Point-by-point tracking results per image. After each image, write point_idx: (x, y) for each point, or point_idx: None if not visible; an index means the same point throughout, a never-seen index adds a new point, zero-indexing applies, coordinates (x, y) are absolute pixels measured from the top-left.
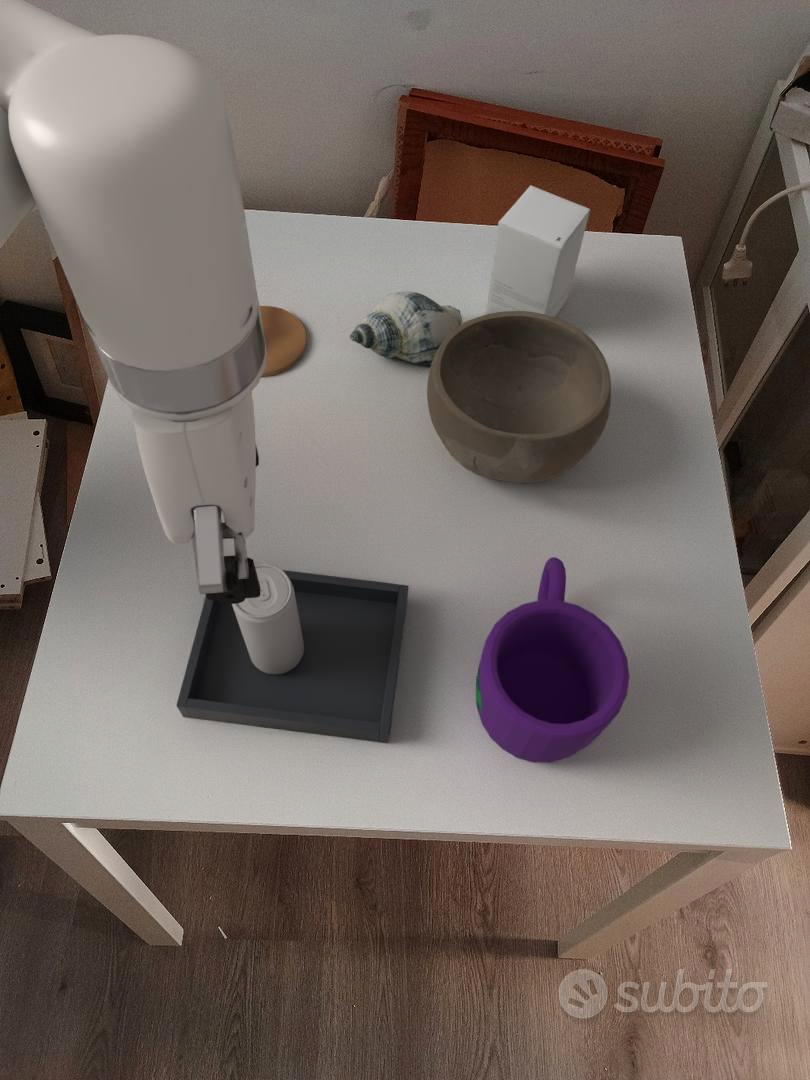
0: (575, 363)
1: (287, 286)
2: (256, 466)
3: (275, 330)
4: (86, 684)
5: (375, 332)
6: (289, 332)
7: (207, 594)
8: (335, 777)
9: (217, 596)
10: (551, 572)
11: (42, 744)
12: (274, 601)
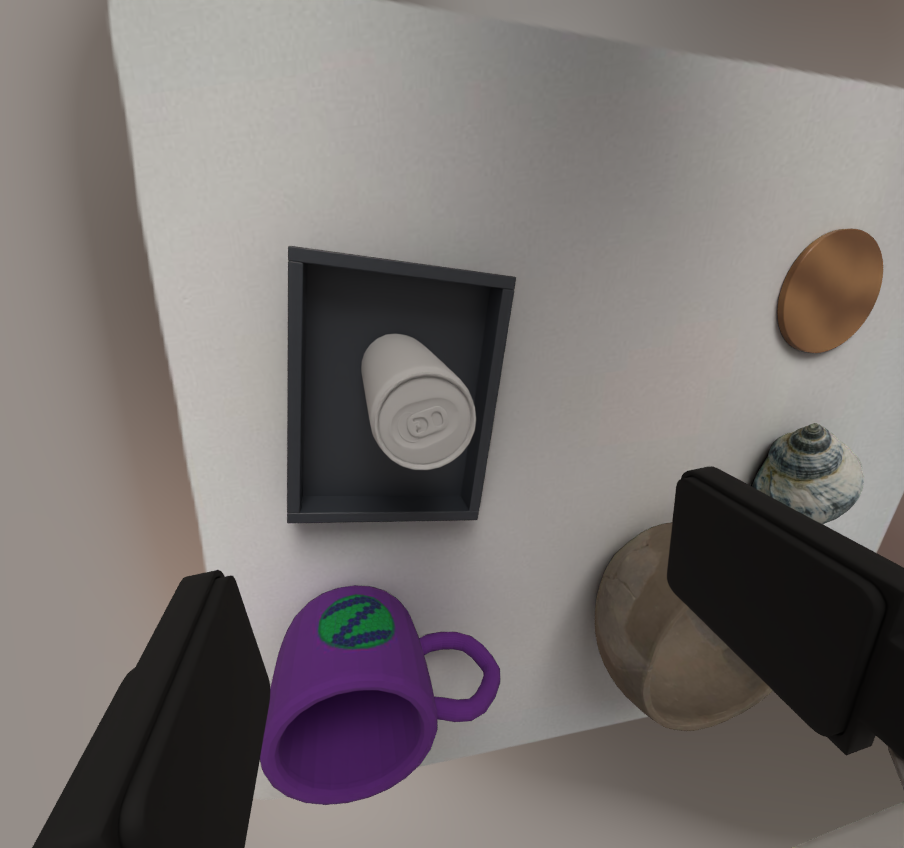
0: (725, 661)
1: (894, 318)
2: (671, 586)
3: (840, 312)
4: (328, 82)
5: (814, 455)
6: (832, 330)
7: (172, 606)
8: (240, 451)
9: (105, 719)
10: (475, 706)
11: (217, 10)
12: (407, 445)
